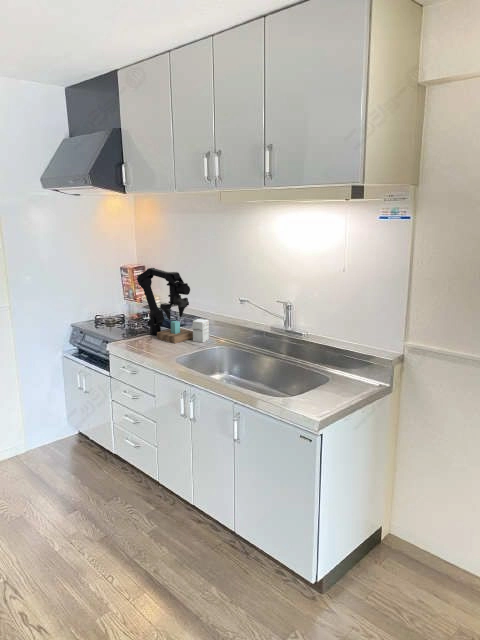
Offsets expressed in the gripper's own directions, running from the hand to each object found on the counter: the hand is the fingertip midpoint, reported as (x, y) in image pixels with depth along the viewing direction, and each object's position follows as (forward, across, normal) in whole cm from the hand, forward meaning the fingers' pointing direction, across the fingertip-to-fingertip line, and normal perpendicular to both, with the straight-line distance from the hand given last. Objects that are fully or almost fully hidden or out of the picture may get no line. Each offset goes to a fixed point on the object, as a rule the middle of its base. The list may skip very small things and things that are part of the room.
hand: (175, 318), depth 292 cm
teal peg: (+12, 0, 0) cm, 12 cm away
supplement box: (+13, +7, -15) cm, 21 cm away
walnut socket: (+13, 0, 0) cm, 13 cm away
